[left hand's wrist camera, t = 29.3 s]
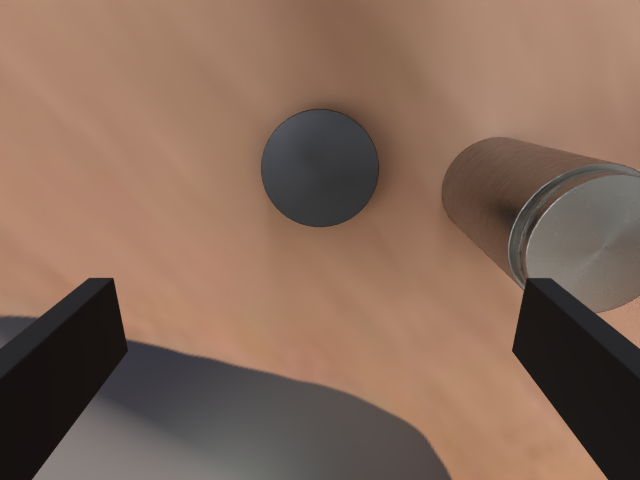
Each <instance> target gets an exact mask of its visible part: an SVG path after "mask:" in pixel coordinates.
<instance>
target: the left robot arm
mask: <svg viewBox="0 0 640 480" xmlns="http://www.w3.org/2000/svg"><path fill="white" fill-rule="evenodd" d="M127 352H128V349H127V344H126V339H125V334H124V329H123V324H122V319H121V314H120V309H119V304H118V299H117V294H116V289H115V284H114V279H113V278H89V279H87V280H86V281H85V282H84V283H82V284H81V285H80V286H79V287H77V288H76V289H75V290H74V291H72V292H71V293H70V294H68V295H67V296H66V297H65V298H63V299H62V300H61V301H60V302H58V303H57V304H56V305H55V306H53V307H52V308H51V309H50V310H48V311H47V312H46V313H45V314H43V315H42V316H41V317H40V318H38V319H37V320H36V321H35V322H33V323H32V324H31V325H30V326H28V327H27V328H26V329H25V330H23V331H22V332H21V333H20V334H18V335H17V336H16V337H15V338H13V339H12V340H11V341H10V342H8V343H7V344H6V345H5V346H3V347H2V348H1V349H0V480H32V479H33V477H34V476H35V475H36V473H37V472H38V471H39V469H40V468H41V467H42V465H43V464H44V463H45V461H46V460H47V459H48V457H49V456H50V455H51V453H52V452H53V451H54V449H55V448H56V447H57V445H58V444H59V443H60V441H61V440H62V439H63V437H64V436H65V435H66V433H67V432H68V431H69V429H70V428H71V426H72V425H73V424H74V423H75V421H76V420H77V418H78V417H79V416H80V414H81V413H82V412H83V410H84V409H85V408H86V406H87V405H88V404H89V402H90V401H91V400H92V398H93V397H94V396H95V394H96V393H97V392H98V390H99V389H100V388H101V386H102V385H103V384H104V382H105V381H106V380H107V378H108V377H109V376H110V374H111V373H112V372H113V370H114V369H115V368H116V366H117V365H118V364H119V362H120V361H121V360H122V358H123V357H124V356H125V354H126V353H127ZM512 352H513V353H514V354H515V356H516V357H517V358H518V360H519V361H520V362H521V364H522V365H523V366H524V368H525V369H526V370H527V372H528V373H529V374H530V376H531V377H532V378H533V380H534V381H535V382H536V384H537V385H538V386H539V388H540V389H541V390H542V392H543V393H544V394H545V396H546V397H547V398H548V400H549V401H550V402H551V404H552V405H553V406H554V408H555V409H556V410H557V412H558V413H559V414H560V416H561V417H562V419H563V420H564V421H565V423H566V424H567V425H568V427H569V428H570V429H571V431H572V432H573V433H574V435H575V436H576V437H577V439H578V440H579V441H580V443H581V444H582V445H583V447H584V448H585V449H586V451H587V452H588V453H589V455H590V456H591V457H592V459H593V460H594V461H595V463H596V464H597V465H598V467H599V468H600V469H601V471H602V472H603V473H604V475H605V476H606V477H607V479H608V480H640V349H639V348H638V347H637V346H635V345H634V344H633V343H632V342H630V341H629V340H628V339H627V338H625V337H624V336H623V335H622V334H620V333H619V332H618V331H617V330H615V329H614V328H613V327H612V326H610V325H609V324H608V323H607V322H605V321H604V320H603V319H602V318H600V317H599V316H598V315H597V314H595V313H594V312H593V311H592V310H590V309H589V308H588V307H587V306H585V305H584V304H583V303H582V302H580V301H579V300H578V299H577V298H575V297H574V296H573V295H572V294H570V293H569V292H568V291H566V290H565V289H564V288H563V287H561V286H560V285H559V284H558V283H556V282H555V281H554V280H553V279H551V278H527V279H526V284H525V289H524V294H523V299H522V304H521V309H520V314H519V319H518V324H517V329H516V334H515V339H514V344H513V349H512Z"/></svg>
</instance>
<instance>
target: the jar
mask: <svg viewBox="0 0 640 480" xmlns="http://www.w3.org/2000/svg"><path fill="white" fill-rule="evenodd" d="M442 200H443V205H444V208H445V211H446V213H447V215H448V216H449V218H450V219H451V220H452V222H453V223H454V224H455V225H456V226H457V227H458V228H459V229H461V230H462V231H463V232H464V233H465V234H466V235H467V236H468V237H469V238H470V239H471V240H472V241H473V242H474V243H475V244H476V245H477V246H478V247H479V248H480V249H481V250H482V251H483V252H484V253H485V254H486V255H487V256H488V257H490V258H491V259H492V260H493V261H494V262H495V263H496V264H497V265H498V266H499V267H500V268H501V269H502V270H503V271H504V272H505V273H506V274H507V275H508V276H509V277H510V278H511V279H512V280H513V281H514V282H515V283H516V284H518V285H519V286H520V287H521V288H522V289H523V290H524V289H525V284H526V279H527V278H551V279H553V280H554V281H555V282H556V283H558V284H559V285H560V286H561V287H563V288H564V289H565V290H566V291H568V292H569V293H570V294H572V295H573V296H574V297H575V298H577V299H578V300H579V301H580V302H582V303H583V304H584V305H585V306H587V307H588V308H589V309H590V310H592V311H593V312H594V313H600V312H605V311H608V310H612V309H615V308H617V307H620V306H622V305H624V304H626V303H628V302H630V301H632V300H634V299H635V298H637V297H638V296H640V172H639V171H637V170H635V169H633V168H630V167H628V166H625V165H621V164H616V163H612V162H608V161H604V160H599V159H595V158H591V157H587V156H582V155H578V154H574V153H570V152H565V151H561V150H557V149H553V148H548V147H544V146H540V145H535V144H531V143H527V142H523V141H518V140H514V139H510V138H501V137H498V138H490V139H485V140H482V141H479V142H477V143H475V144H473V145H471V146H470V147H468V148H467V149H465V150H464V151H463V152H462V153H460V154H459V155H458V157H457V158H456V159H455V160H454V161H453V163H452V164H451V166H450V167H449V169H448V171H447V173H446V175H445V178H444V182H443V187H442Z"/></svg>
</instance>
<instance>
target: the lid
mask: <svg viewBox="0 0 640 480" xmlns="http://www.w3.org/2000/svg"><path fill="white" fill-rule="evenodd" d="M378 172H379V164H378V157H377V152H376V149H375V146H374V144H373V142H372V140H371V138H370V137H369V135H368V134H367V132H366V131H365V130H364V129H363V128H362V127H361V126H360V125H359V124H358V123H357V122H355V121H354V120H353V119H351V118H350V117H348V116H346V115H344V114H342V113H340V112H337V111H333V110H328V109H312V110H307V111H303V112H300V113H298V114H295V115H294V116H292V117H290V118H288V119H287V120H286V121H285V122H283V123H282V124H281V125H280V126H279V127H278V128H277V129H276V130H275V131H274V132H273V134H272V135H271V137H270V138H269V140H268V142H267V144H266V147H265V149H264V152H263V156H262V163H261V174H262V180H263V184H264V188H265V190H266V192H267V195H268V197H269V198H270V200H271V201H272V203H273V204H274V205H275V207H276V208H277V209H278V210H279V211H280V212H281V213H282V214H284V215H285V216H286V217H288V218H290V219H291V220H293V221H295V222H298V223H300V224H303V225H307V226H313V227H327V226H333V225H337V224H340V223H342V222H345V221H347V220H349V219H350V218H352V217H353V216H355V215H356V214H357V213H359V212H360V211H361V210H362V209H363V208H364V206H365V205H366V204H367V203H368V201H369V200H370V198H371V196H372V194H373V192H374V190H375V187H376V184H377V180H378Z"/></svg>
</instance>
